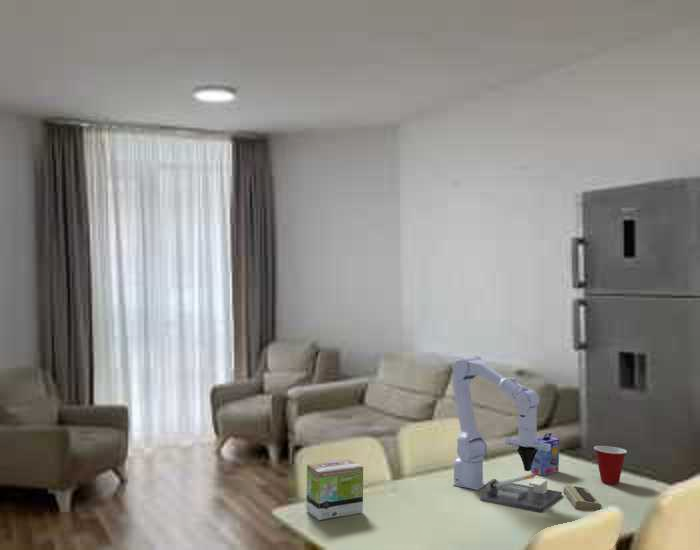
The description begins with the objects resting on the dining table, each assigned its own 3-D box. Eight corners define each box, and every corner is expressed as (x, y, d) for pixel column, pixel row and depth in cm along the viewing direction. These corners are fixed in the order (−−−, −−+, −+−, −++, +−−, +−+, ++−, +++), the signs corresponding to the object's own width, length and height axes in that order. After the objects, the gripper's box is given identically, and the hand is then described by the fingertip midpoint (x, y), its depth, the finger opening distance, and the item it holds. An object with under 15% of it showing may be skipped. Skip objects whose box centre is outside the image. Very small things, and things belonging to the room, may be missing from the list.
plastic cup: (633, 483, 245) (633, 448, 245) (614, 489, 239) (614, 453, 239) (607, 476, 254) (606, 442, 254) (587, 481, 248) (587, 447, 248)
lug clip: (529, 495, 230) (529, 483, 230) (536, 489, 235) (536, 478, 235) (539, 497, 228) (539, 484, 228) (547, 491, 233) (547, 479, 233)
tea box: (319, 521, 211) (319, 472, 211) (306, 511, 220) (305, 464, 220) (364, 513, 218) (363, 465, 218) (349, 503, 227) (348, 457, 227)
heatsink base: (480, 500, 229) (480, 486, 229) (504, 485, 245) (504, 472, 245) (540, 512, 218) (540, 497, 218) (561, 495, 233) (561, 482, 233)
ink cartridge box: (542, 476, 254) (542, 436, 254) (530, 473, 259) (529, 433, 259) (560, 471, 260) (560, 432, 260) (548, 468, 265) (547, 429, 264)
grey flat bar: (492, 488, 233) (491, 484, 233) (497, 485, 236) (495, 481, 236) (532, 479, 225) (530, 474, 225) (536, 476, 228) (535, 471, 228)
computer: (601, 510, 220) (601, 500, 220) (575, 510, 220) (575, 499, 220) (587, 494, 235) (587, 484, 235) (563, 494, 236) (563, 484, 236)
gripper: (501, 427, 229) (501, 469, 229) (545, 433, 220) (545, 477, 220) (510, 423, 234) (510, 464, 234) (553, 429, 226) (553, 471, 226)
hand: (527, 470), depth 228 cm, fingers closed
